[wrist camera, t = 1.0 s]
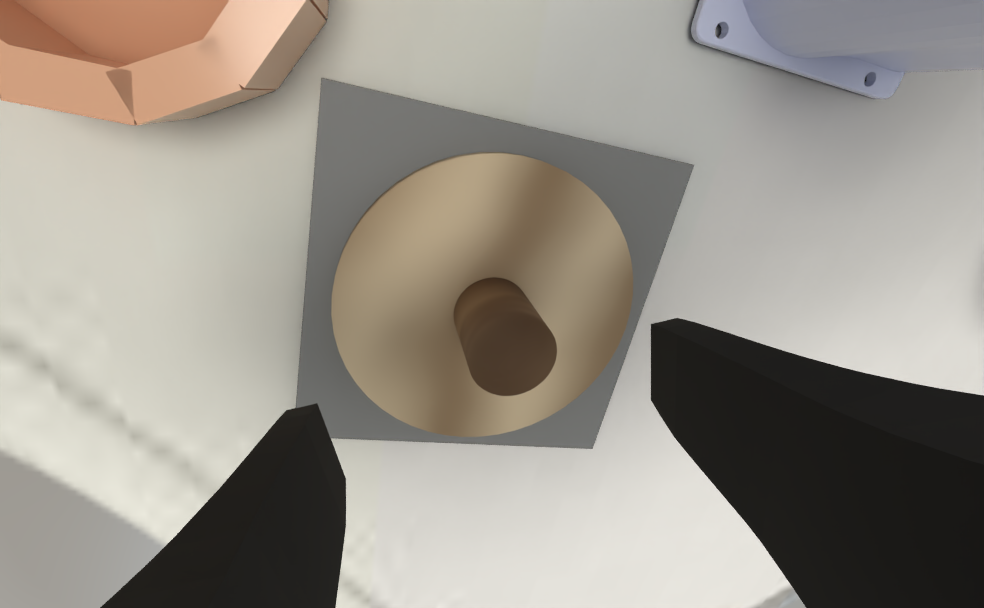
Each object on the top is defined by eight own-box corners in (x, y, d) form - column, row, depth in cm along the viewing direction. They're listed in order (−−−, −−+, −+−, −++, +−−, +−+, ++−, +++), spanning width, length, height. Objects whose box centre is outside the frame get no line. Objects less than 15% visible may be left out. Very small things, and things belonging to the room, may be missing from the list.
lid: (662, 185, 19) (734, 208, 15) (579, 431, 23) (619, 498, 19) (350, 118, 16) (339, 126, 12) (320, 419, 20) (305, 497, 16)
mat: (690, 163, 19) (694, 164, 19) (590, 444, 24) (592, 448, 24) (322, 78, 15) (321, 77, 15) (294, 432, 20) (293, 436, 20)
